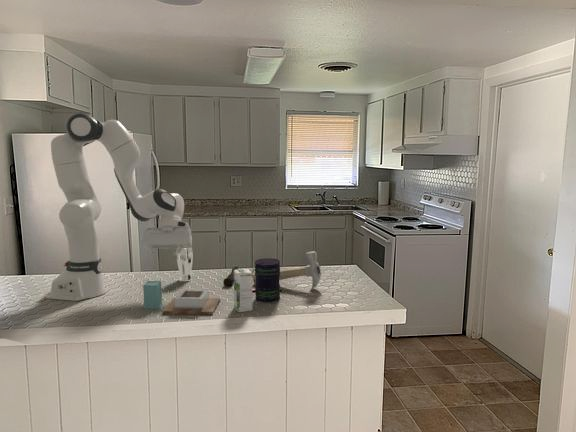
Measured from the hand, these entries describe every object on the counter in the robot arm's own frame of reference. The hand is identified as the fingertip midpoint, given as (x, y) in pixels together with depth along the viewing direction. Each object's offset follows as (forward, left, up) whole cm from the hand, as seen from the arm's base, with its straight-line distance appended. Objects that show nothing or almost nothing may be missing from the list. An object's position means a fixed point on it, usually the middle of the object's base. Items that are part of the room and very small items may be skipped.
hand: (163, 256), depth 175 cm
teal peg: (0, -14, -16) cm, 21 cm away
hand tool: (+24, +20, -16) cm, 35 cm away
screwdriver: (+31, +24, -16) cm, 43 cm away
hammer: (+48, +12, -16) cm, 52 cm away
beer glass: (+3, +20, -16) cm, 26 cm away
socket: (+15, -15, -15) cm, 25 cm away
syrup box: (+34, -16, -16) cm, 41 cm away
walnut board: (+15, -15, -16) cm, 26 cm away
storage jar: (+42, -4, -16) cm, 45 cm away
